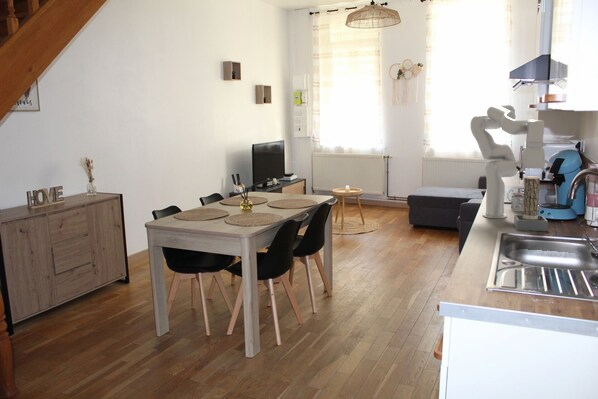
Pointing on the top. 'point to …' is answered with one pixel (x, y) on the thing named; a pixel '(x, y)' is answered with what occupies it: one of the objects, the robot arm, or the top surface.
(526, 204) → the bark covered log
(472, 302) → the top surface
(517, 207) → the french press
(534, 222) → the box
